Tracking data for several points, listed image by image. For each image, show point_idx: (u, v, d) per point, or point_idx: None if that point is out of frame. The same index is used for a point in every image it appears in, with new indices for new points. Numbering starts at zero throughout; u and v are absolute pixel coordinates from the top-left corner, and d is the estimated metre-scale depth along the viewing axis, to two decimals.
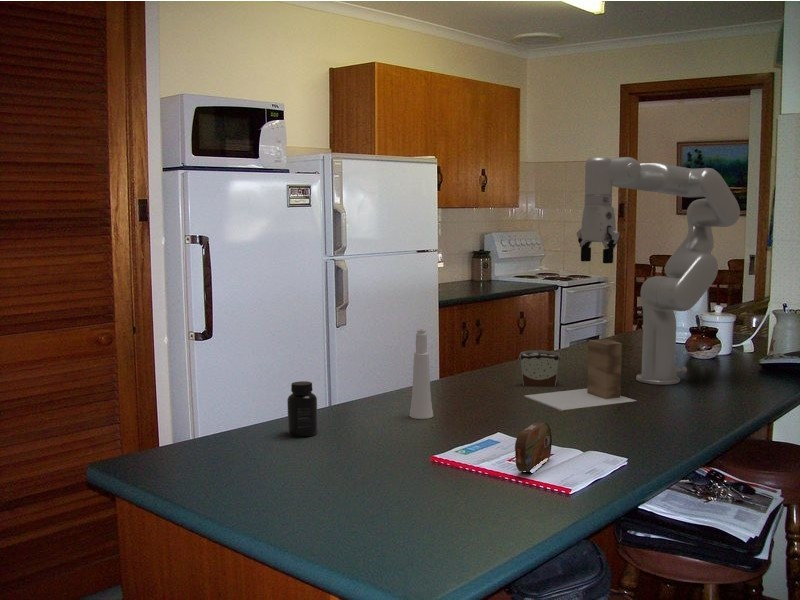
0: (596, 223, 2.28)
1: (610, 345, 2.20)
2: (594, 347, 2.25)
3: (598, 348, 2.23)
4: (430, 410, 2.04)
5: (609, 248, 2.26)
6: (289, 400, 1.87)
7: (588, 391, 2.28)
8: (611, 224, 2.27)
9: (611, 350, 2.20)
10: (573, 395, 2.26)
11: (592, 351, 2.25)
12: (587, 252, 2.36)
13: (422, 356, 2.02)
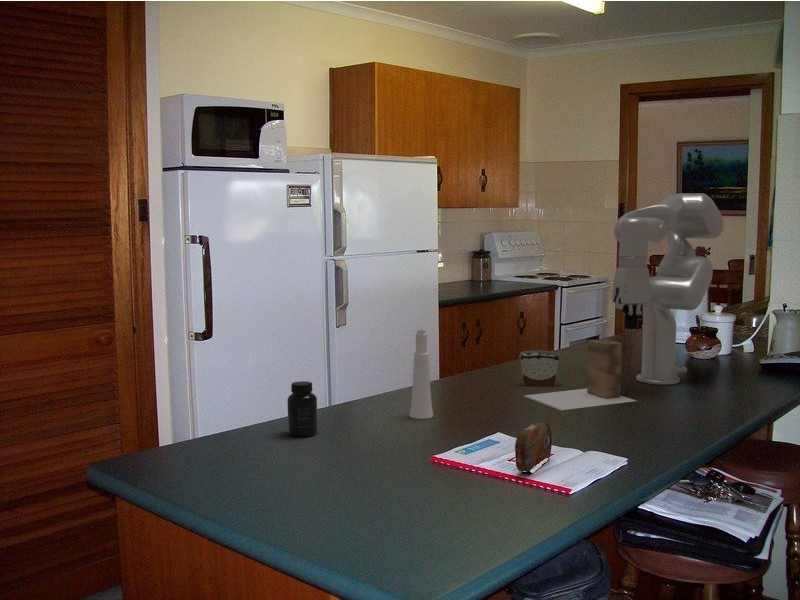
0: (645, 285, 2.25)
1: (610, 345, 2.20)
2: (594, 347, 2.25)
3: (598, 348, 2.23)
4: (430, 410, 2.04)
5: None
6: (289, 400, 1.87)
7: (588, 391, 2.28)
8: None
9: (611, 350, 2.20)
10: (573, 395, 2.26)
11: (592, 351, 2.25)
12: None
13: (422, 356, 2.02)
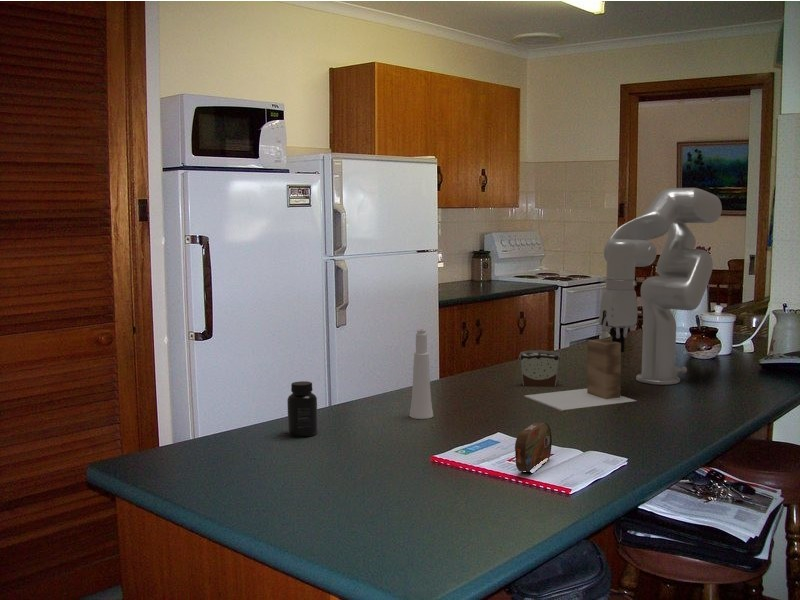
0: (632, 308, 2.24)
1: (609, 345, 2.20)
2: (593, 347, 2.24)
3: (597, 348, 2.23)
4: (430, 410, 2.04)
5: None
6: (289, 400, 1.87)
7: (588, 391, 2.28)
8: None
9: (610, 350, 2.20)
10: (573, 395, 2.26)
11: (591, 351, 2.25)
12: None
13: (422, 356, 2.02)
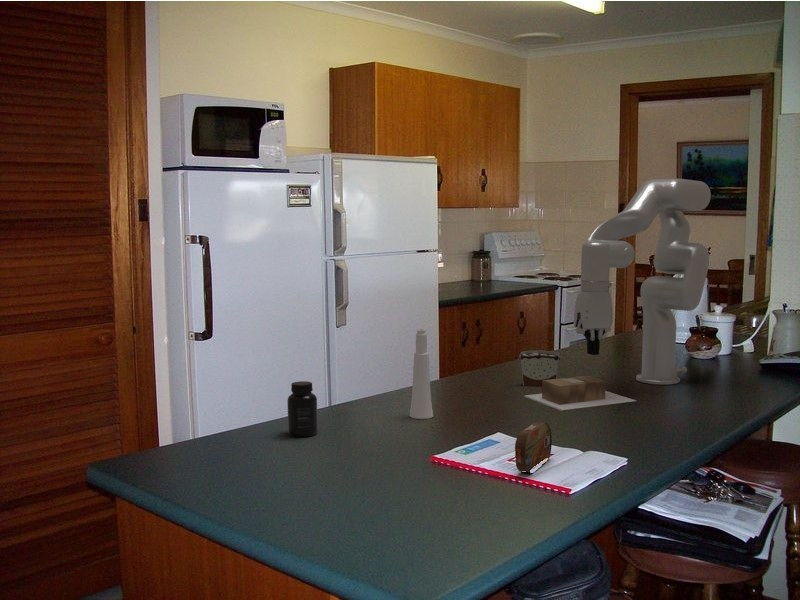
0: (607, 310, 2.20)
1: (560, 400, 2.15)
2: None
3: None
4: (430, 410, 2.04)
5: None
6: (289, 400, 1.87)
7: None
8: None
9: (564, 398, 2.16)
10: None
11: None
12: None
13: (422, 356, 2.02)
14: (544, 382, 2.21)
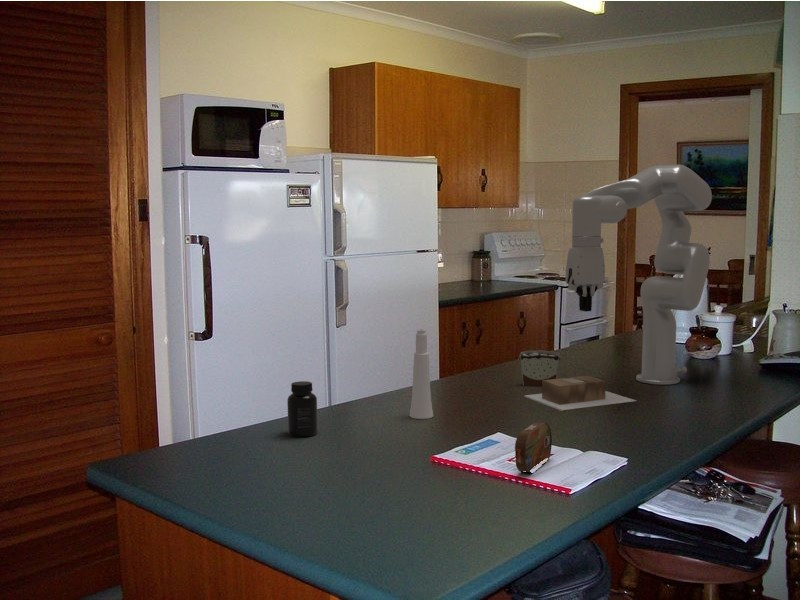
0: (598, 265, 2.18)
1: (560, 400, 2.15)
2: None
3: None
4: (430, 410, 2.04)
5: None
6: (289, 400, 1.87)
7: None
8: None
9: (564, 398, 2.16)
10: None
11: None
12: None
13: (422, 356, 2.02)
14: (544, 382, 2.21)
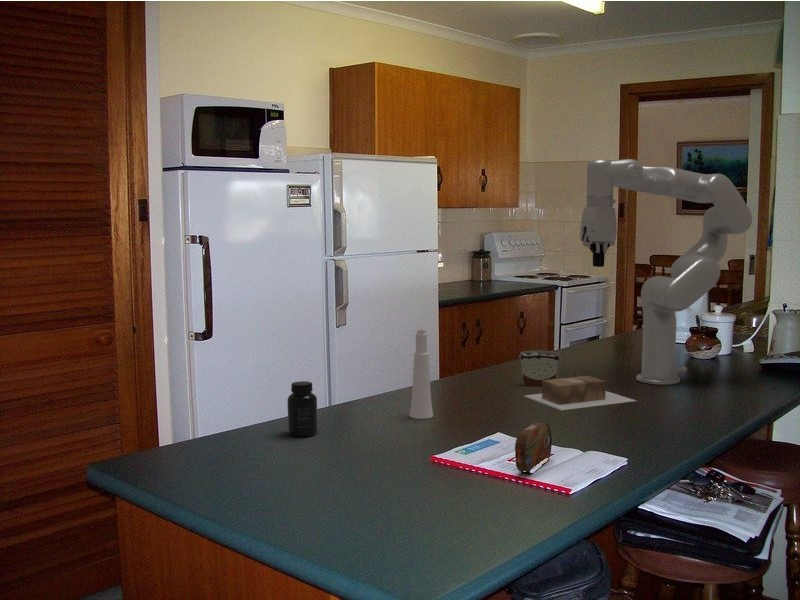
0: (611, 224, 2.35)
1: (560, 400, 2.15)
2: None
3: None
4: (430, 410, 2.04)
5: None
6: (289, 400, 1.87)
7: None
8: None
9: (564, 398, 2.16)
10: None
11: None
12: None
13: (422, 356, 2.02)
14: (544, 382, 2.21)
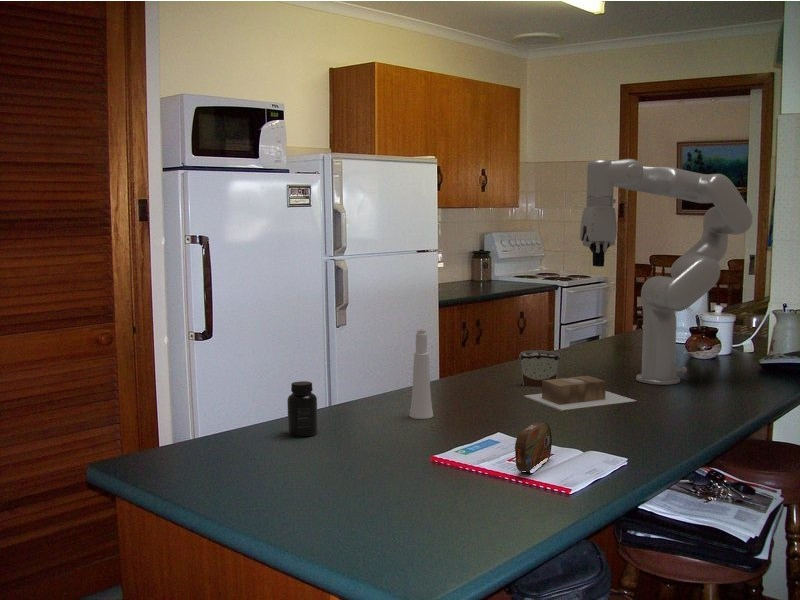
0: (611, 224, 2.35)
1: (560, 400, 2.15)
2: None
3: None
4: (430, 410, 2.04)
5: None
6: (289, 400, 1.87)
7: None
8: None
9: (564, 398, 2.16)
10: None
11: None
12: None
13: (422, 356, 2.02)
14: (544, 382, 2.21)
